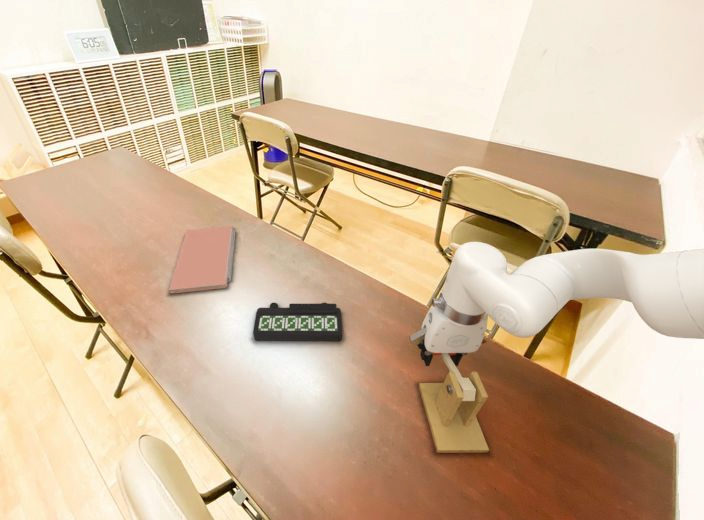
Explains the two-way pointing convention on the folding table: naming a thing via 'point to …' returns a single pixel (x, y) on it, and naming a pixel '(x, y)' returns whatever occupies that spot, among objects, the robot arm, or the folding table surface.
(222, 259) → the notebook
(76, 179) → the folding table surface
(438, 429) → the bracket
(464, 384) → the lever
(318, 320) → the digital display
